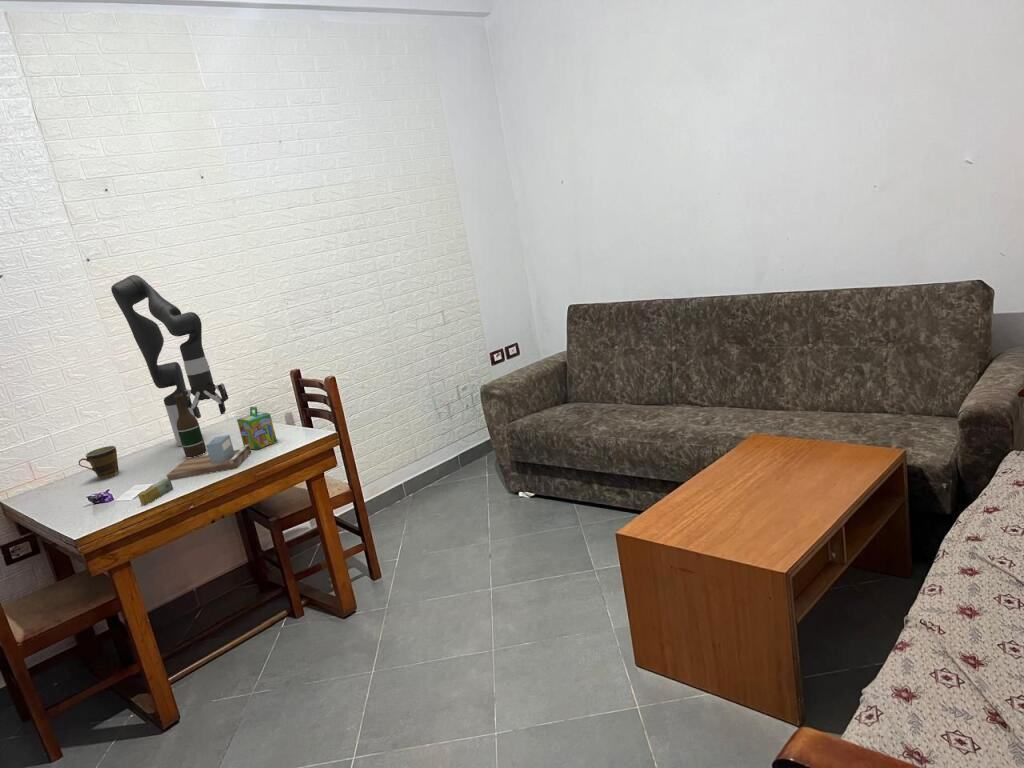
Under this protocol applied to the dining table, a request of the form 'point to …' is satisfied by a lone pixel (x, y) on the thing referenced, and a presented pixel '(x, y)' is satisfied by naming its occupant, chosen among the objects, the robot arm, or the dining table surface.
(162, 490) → the medication box
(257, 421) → the colorful gift box
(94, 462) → the ceramic cup
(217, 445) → the tea carton
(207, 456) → the wooden tray
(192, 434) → the beer bottle
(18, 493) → the dining table surface
